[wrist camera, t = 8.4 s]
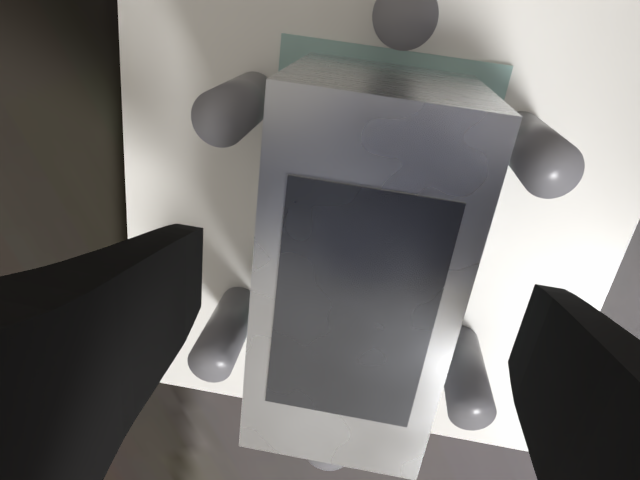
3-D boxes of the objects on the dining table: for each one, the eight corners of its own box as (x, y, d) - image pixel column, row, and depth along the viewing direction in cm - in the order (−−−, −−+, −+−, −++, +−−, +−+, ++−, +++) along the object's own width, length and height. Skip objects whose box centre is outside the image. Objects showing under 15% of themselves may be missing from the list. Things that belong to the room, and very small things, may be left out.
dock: (712, -12, 12) (851, -19, 8) (531, 431, 18) (567, 538, 14) (133, -87, 13) (31, -123, 9) (146, 359, 19) (87, 443, 15)
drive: (474, 75, 12) (523, 117, 8) (409, 344, 16) (416, 482, 11) (311, 52, 13) (265, 79, 8) (281, 321, 16) (238, 448, 11)
